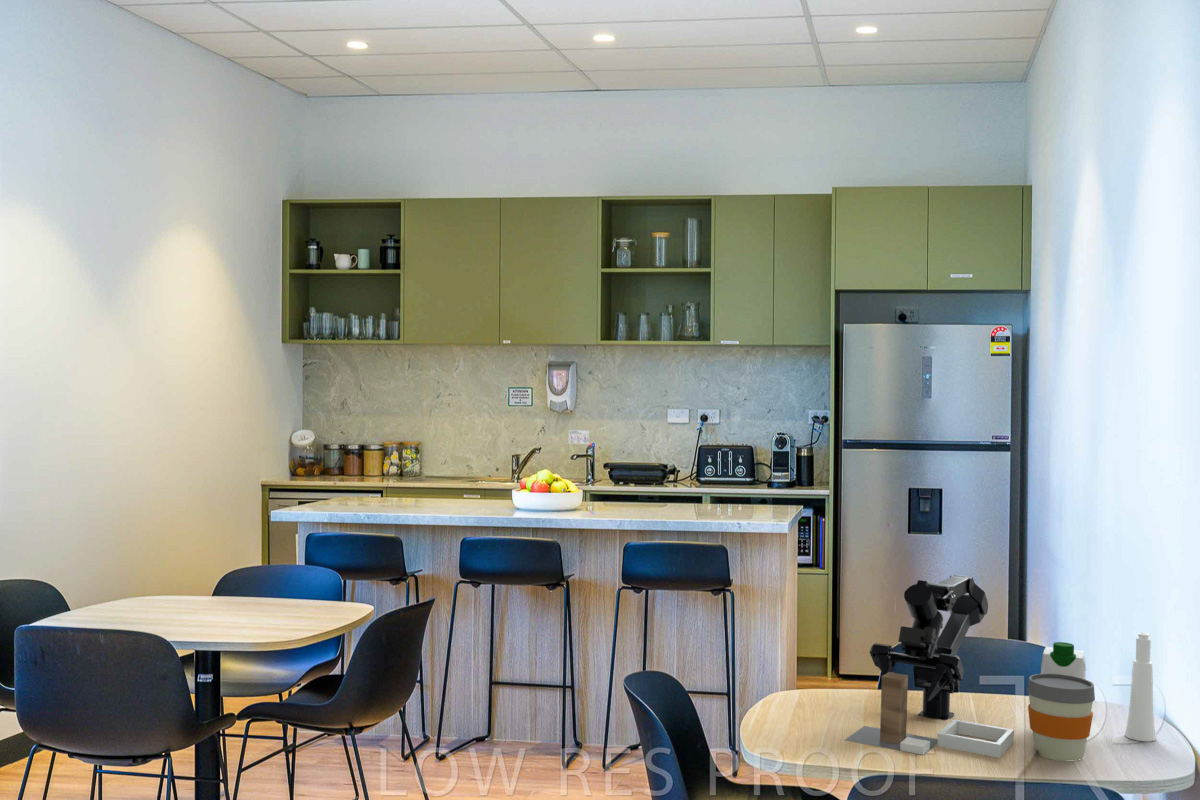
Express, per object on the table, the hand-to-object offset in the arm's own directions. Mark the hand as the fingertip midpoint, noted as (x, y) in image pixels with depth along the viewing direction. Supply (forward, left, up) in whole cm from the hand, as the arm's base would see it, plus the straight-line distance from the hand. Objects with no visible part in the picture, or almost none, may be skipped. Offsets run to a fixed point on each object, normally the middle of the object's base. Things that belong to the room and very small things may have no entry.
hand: (906, 696), depth 237 cm
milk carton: (-21, +27, -9) cm, 35 cm away
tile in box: (0, +14, -8) cm, 16 cm away
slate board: (+7, 0, -9) cm, 11 cm away
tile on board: (+11, +5, -7) cm, 14 cm away
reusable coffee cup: (-7, +29, -9) cm, 31 cm away
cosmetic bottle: (-31, +41, -9) cm, 52 cm away
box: (0, +14, -9) cm, 17 cm away
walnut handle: (+7, 0, -7) cm, 10 cm away
